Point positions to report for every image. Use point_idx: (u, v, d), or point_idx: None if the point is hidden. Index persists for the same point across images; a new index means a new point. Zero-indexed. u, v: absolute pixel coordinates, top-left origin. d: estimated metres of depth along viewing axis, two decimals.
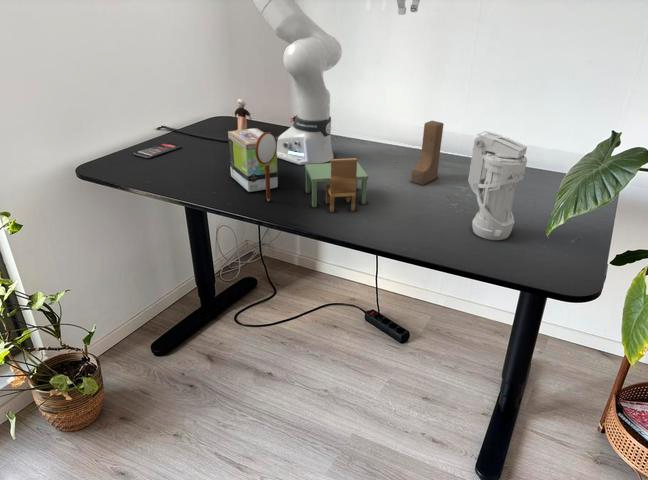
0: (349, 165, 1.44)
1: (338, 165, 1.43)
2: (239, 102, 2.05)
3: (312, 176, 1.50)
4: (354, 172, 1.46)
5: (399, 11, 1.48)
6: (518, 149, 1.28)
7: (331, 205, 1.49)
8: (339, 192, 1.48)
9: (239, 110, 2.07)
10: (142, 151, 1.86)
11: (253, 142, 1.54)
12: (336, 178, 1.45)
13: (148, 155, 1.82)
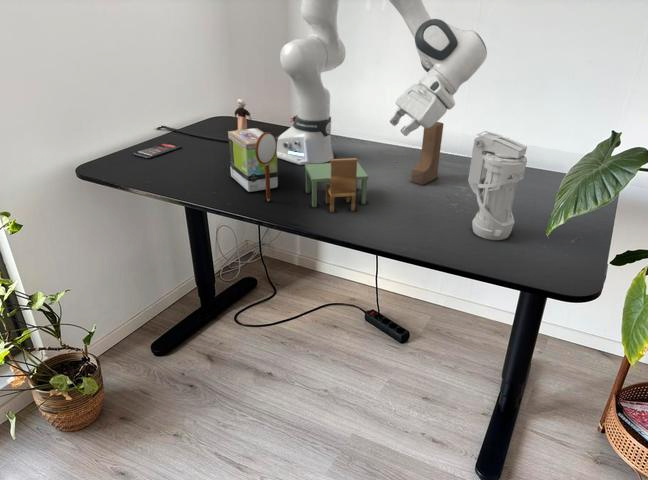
0: (349, 165, 1.44)
1: (338, 165, 1.43)
2: (239, 102, 2.05)
3: (312, 176, 1.50)
4: (354, 172, 1.46)
5: (404, 131, 1.38)
6: (518, 149, 1.28)
7: (331, 205, 1.49)
8: (339, 192, 1.48)
9: (239, 110, 2.07)
10: (142, 151, 1.86)
11: (253, 142, 1.54)
12: (336, 178, 1.45)
13: (148, 155, 1.82)
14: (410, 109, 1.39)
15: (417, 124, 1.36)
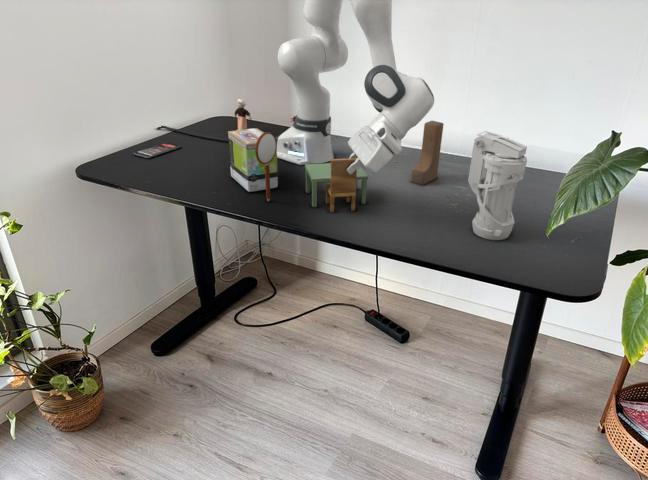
0: None
1: (338, 165, 1.43)
2: (239, 102, 2.05)
3: (312, 176, 1.50)
4: (354, 172, 1.46)
5: (349, 169, 1.43)
6: (518, 149, 1.28)
7: (331, 205, 1.49)
8: (339, 192, 1.48)
9: (239, 110, 2.07)
10: (142, 151, 1.86)
11: (253, 142, 1.54)
12: (336, 178, 1.45)
13: (148, 155, 1.82)
14: (358, 152, 1.42)
15: (361, 163, 1.42)
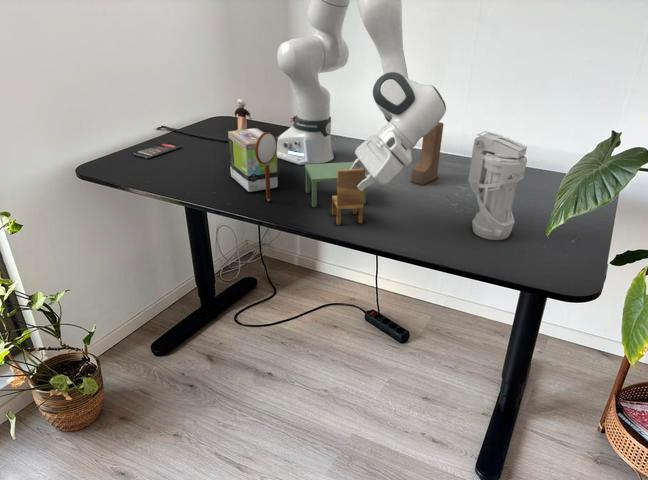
0: (357, 176, 1.37)
1: (345, 176, 1.37)
2: (239, 102, 2.05)
3: (312, 176, 1.50)
4: None
5: (360, 186, 1.34)
6: (518, 149, 1.28)
7: (338, 217, 1.42)
8: (346, 204, 1.41)
9: (239, 110, 2.07)
10: (142, 151, 1.86)
11: (253, 142, 1.54)
12: (343, 189, 1.39)
13: (148, 155, 1.82)
14: (366, 163, 1.35)
15: (373, 180, 1.32)
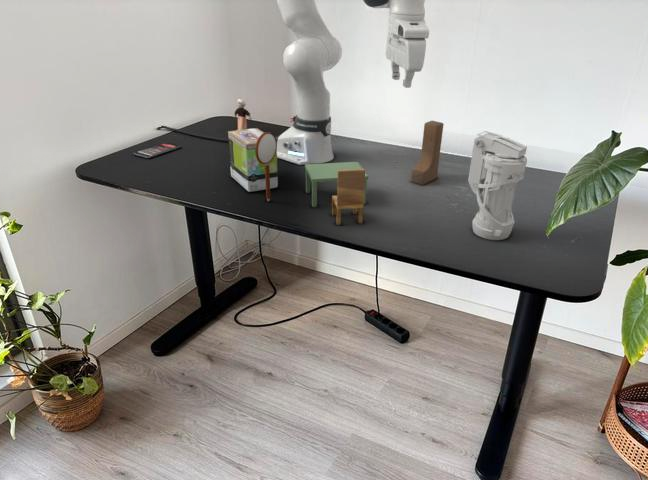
0: (357, 176, 1.37)
1: (345, 176, 1.37)
2: (239, 102, 2.05)
3: (312, 176, 1.50)
4: (362, 183, 1.39)
5: (406, 84, 1.37)
6: (518, 149, 1.28)
7: (338, 217, 1.42)
8: (346, 204, 1.41)
9: (239, 110, 2.07)
10: (142, 151, 1.86)
11: (253, 142, 1.54)
12: (343, 189, 1.39)
13: (148, 155, 1.82)
14: (398, 61, 1.38)
15: (411, 71, 1.35)
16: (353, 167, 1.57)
